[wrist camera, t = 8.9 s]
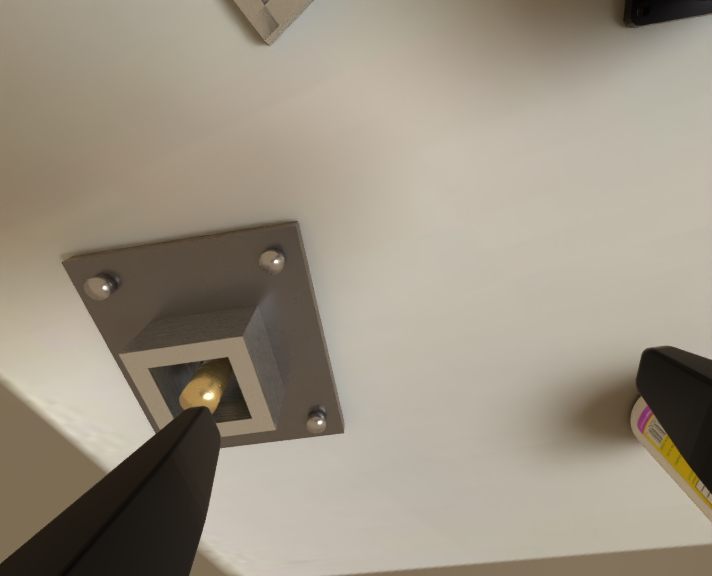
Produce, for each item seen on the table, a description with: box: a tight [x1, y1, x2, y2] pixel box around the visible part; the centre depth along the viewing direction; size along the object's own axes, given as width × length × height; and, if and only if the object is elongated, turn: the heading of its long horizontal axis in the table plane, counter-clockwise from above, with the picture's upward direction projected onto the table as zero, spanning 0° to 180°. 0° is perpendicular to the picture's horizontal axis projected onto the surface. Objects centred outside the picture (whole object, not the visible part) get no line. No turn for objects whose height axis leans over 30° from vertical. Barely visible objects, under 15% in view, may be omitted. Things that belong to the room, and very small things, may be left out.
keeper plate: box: [62, 222, 344, 448], centre depth 20 cm, size 12×14×4 cm
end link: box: [119, 305, 285, 437], centre depth 19 cm, size 6×6×3 cm
